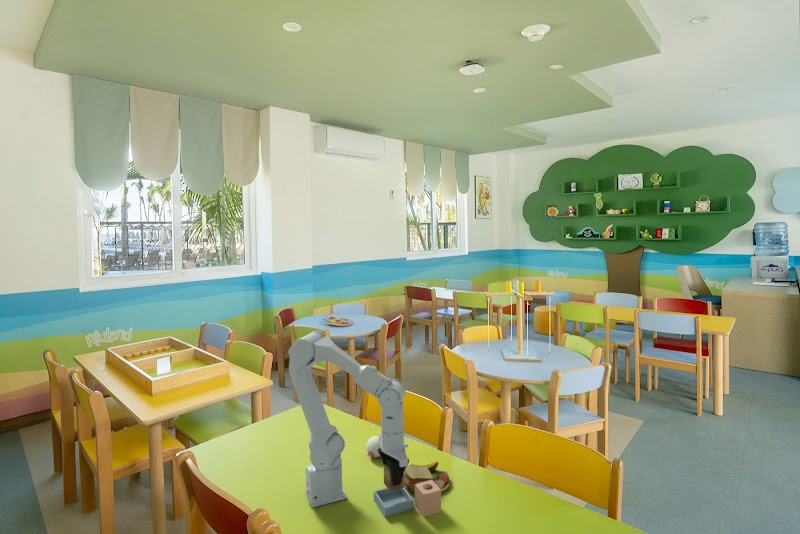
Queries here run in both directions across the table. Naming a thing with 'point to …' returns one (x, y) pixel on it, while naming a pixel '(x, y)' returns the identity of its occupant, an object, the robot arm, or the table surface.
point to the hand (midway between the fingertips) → (393, 479)
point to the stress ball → (373, 446)
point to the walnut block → (389, 482)
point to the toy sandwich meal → (425, 476)
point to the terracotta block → (427, 498)
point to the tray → (393, 501)
